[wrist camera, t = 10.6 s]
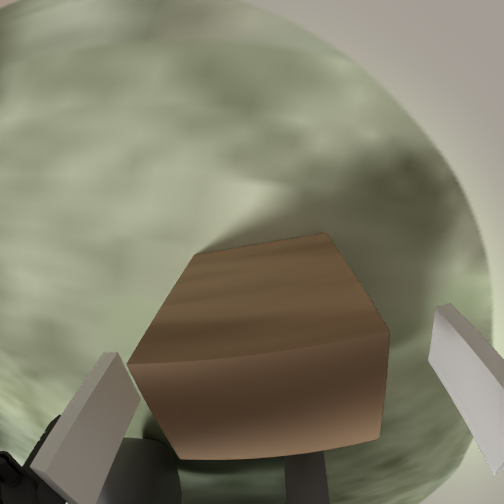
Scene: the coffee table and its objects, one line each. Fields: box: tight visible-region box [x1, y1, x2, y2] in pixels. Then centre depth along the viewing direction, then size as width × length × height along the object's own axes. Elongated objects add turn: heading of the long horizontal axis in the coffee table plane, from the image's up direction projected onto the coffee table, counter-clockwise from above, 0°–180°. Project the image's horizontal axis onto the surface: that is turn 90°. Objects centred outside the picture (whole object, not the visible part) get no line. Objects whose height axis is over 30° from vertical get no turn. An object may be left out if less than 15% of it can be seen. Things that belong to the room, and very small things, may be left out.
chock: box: [127, 233, 390, 460], centre depth 11 cm, size 8×6×8 cm
